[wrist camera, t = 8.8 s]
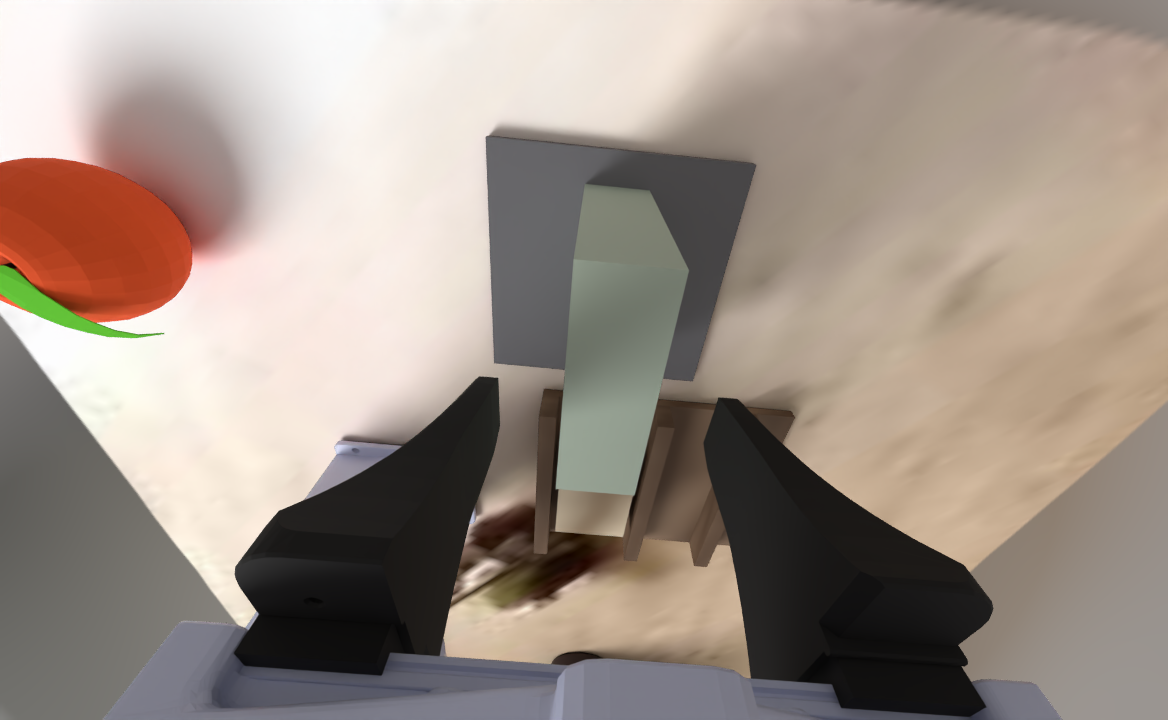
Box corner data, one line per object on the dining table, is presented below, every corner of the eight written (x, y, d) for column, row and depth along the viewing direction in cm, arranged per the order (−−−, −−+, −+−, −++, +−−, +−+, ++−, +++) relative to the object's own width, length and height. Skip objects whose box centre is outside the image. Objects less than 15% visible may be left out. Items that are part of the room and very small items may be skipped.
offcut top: (556, 519, 31) (555, 531, 30) (562, 443, 27) (561, 454, 26) (622, 524, 31) (623, 536, 30) (639, 449, 27) (641, 461, 26)
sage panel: (570, 348, 24) (555, 488, 16) (584, 183, 19) (573, 259, 11) (622, 353, 24) (634, 495, 16) (649, 190, 19) (689, 270, 11)
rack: (538, 523, 34) (533, 552, 32) (544, 388, 26) (539, 416, 24) (729, 539, 34) (738, 569, 32) (791, 411, 27) (808, 440, 24)
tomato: (273, 265, 22) (154, 330, 16) (198, 320, 24) (68, 396, 18) (122, 115, 18) (-104, 129, 13) (48, 196, 21) (-176, 240, 15)
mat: (495, 358, 25) (494, 363, 25) (488, 135, 18) (485, 136, 18) (691, 376, 25) (692, 381, 25) (752, 163, 19) (756, 164, 18)
